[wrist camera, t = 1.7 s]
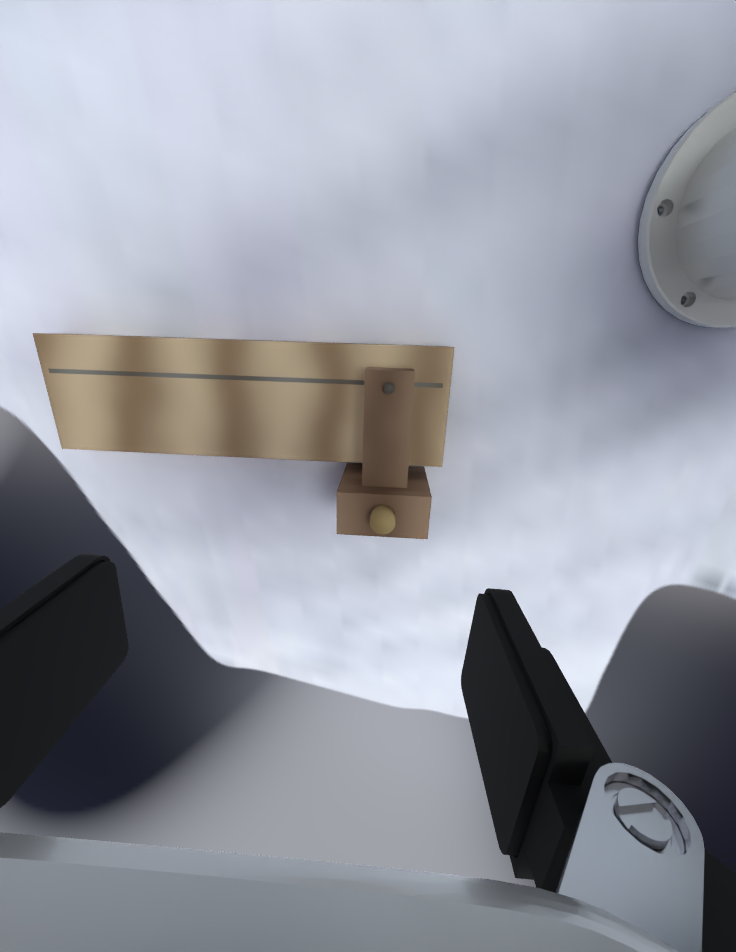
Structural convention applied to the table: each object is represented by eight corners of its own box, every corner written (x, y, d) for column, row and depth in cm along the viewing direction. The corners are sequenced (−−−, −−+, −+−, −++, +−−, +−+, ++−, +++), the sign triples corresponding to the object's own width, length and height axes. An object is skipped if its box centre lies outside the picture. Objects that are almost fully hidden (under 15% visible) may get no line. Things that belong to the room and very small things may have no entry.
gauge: (432, 366, 27) (445, 375, 20) (420, 507, 31) (428, 553, 24) (348, 363, 27) (334, 371, 21) (346, 503, 31) (334, 548, 24)
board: (448, 346, 26) (454, 347, 24) (438, 456, 29) (442, 466, 27) (63, 333, 28) (32, 333, 25) (87, 440, 30) (61, 448, 28)
